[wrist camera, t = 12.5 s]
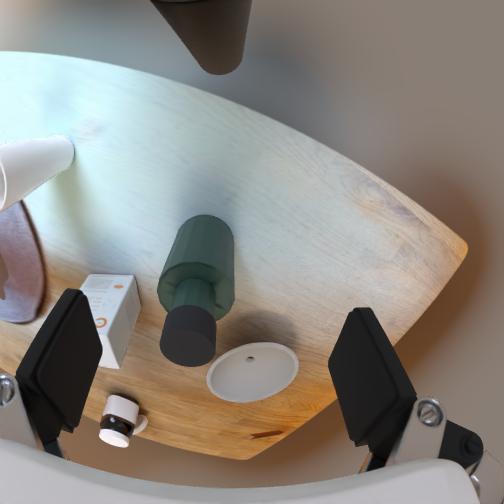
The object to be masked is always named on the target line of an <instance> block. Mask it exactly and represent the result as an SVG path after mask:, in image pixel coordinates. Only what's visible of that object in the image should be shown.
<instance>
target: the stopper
mask: <svg viewBox="0 0 504 504" xmlns="http://www.w3.org/2000/svg"><path fill="white" fill-rule="evenodd" d="M215 346H216V321H215V319H214V317H213V316H212V315H211V314H210V313H209V312H208V311H207V310H205V309H203V308H201V307H198V306H194V305H181V306H178V307H175V308H173V309H172V310H171V311H170V312H169V313H168V314H167V316H166V320H165V323H164V327H163V331H162V335H161V339H160V349H161V352H162V353H163V355H164V356H165V357H166V358H167V359H169V360H170V361H172V362H174V363H176V364H178V365H181V366H187V367H197V366H202V365H204V364H206V363H208V362H209V361H211V360H212V358H213V357H214V355H215Z"/></svg>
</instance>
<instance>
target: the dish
mask: <svg viewBox="0 0 504 504" xmlns="http://www.w3.org/2000/svg"><path fill="white" fill-rule="evenodd" d="M248 357H252V358H248ZM298 368H299V361H298V358H297V356H296V354H295V353H294V352H293V351H292V350H291V349H290V348H288V347H286V346H284V345H281V344H278V343H272V342H258V343H250V344H245V345H242V346H239V347H237V348H234V349H232V350H230V351H228V352H226V353H225V354H223V355H222V356H220V357H219V358H218V359H217V360H216V361H215V362H214V363H213V364H212V365H211V367H210V368H209V370H208V373H207V377H206V381H207V385H208V388H209V389H210V391H211V392H212V393H213V394H214V395H216V396H217V397H219V398H221V399H223V400H226V401H231V402H240V403H244V402H254V401H259V400H262V399H265V398H268V397H271V396H273V395H275V394H277V393H278V392H280V391H282V390H283V389H284V388H286V387H287V386H288V385H289V384H290V383H291V382H292V381H293V379H294V378H295V376H296V374H297V372H298Z"/></svg>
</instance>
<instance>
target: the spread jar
mask: <svg viewBox="0 0 504 504" xmlns="http://www.w3.org/2000/svg"><path fill="white" fill-rule="evenodd" d="M138 411H139V405H138V403H137V402H136V401H135V400H134V399H132V398H131V397H129V396H127V395H124V394H121V393H112V394H110V395H109V397H108V399H107V401H106V405H105V408H104V412H103V415H102V418H101V422H100V428H101V431H100V435H99V436H100V438H101V439H102V440H103V441H105V442H107V443H109V444H112V445H114V446H118V447H127V446H128V445H129V439H130V438H131V436H132V435H135V434H137V433H139V432H141V431H142V430H143V429H144V428H145V427H146V425H147V423H148V419H147V418H146V417H145V416H144V415H142V414H140V415H138Z"/></svg>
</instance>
